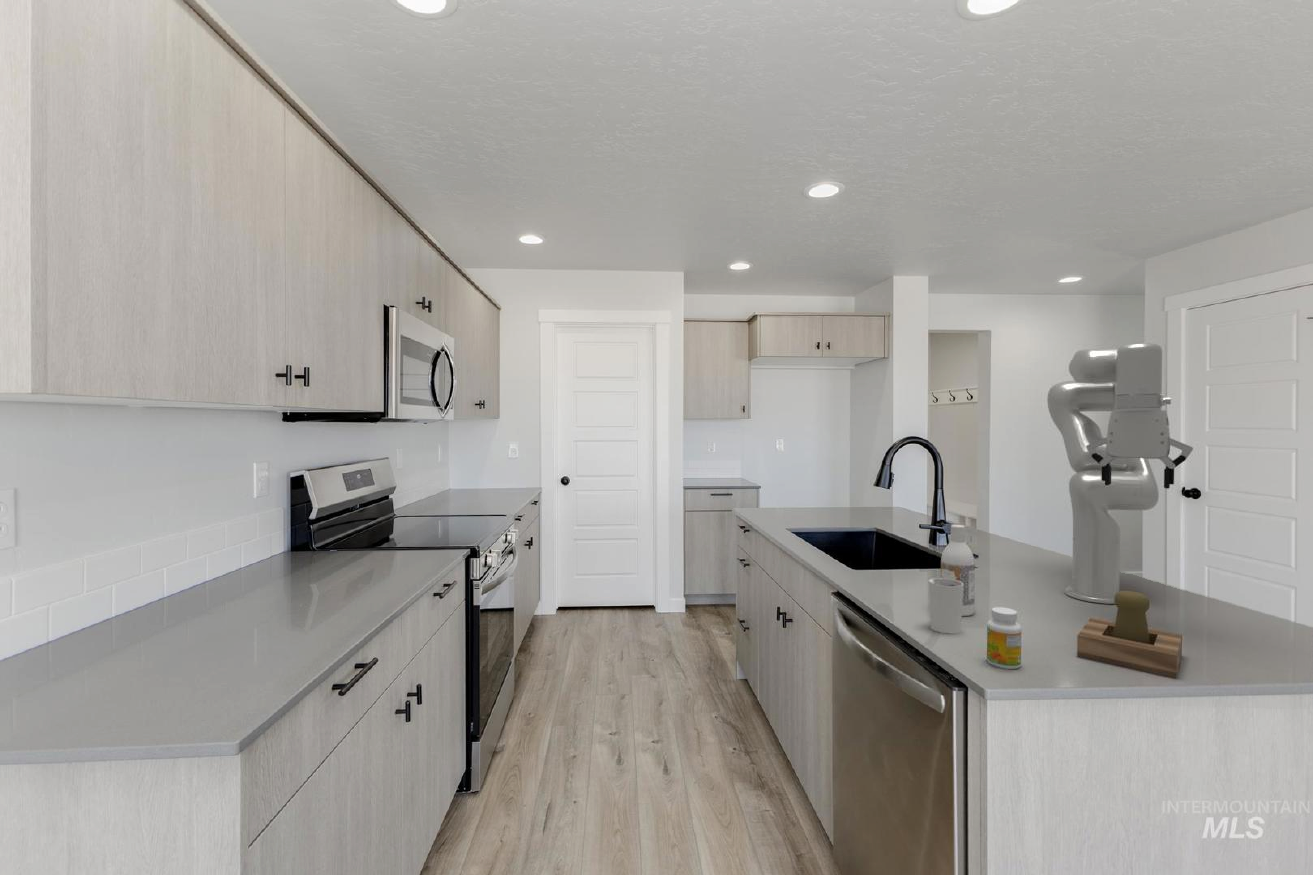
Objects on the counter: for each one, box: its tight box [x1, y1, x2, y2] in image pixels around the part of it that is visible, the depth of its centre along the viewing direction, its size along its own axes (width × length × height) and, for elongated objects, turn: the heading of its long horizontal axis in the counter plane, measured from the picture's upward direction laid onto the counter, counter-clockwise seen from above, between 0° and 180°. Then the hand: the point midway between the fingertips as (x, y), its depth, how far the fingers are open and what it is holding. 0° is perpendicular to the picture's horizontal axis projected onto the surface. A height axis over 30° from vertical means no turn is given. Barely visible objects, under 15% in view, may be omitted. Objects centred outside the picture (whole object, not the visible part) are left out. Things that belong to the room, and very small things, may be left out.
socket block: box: [1076, 617, 1183, 679], centre depth 112 cm, size 14×14×4 cm
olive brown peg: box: [1113, 590, 1151, 644], centre depth 112 cm, size 6×6×11 cm
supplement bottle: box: [986, 606, 1022, 670], centre depth 109 cm, size 5×5×10 cm
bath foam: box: [940, 524, 976, 617], centre depth 138 cm, size 7×7×20 cm
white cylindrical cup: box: [928, 577, 964, 635], centre depth 127 cm, size 7×7×10 cm
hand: (1136, 486), depth 125 cm, fingers open, 9 cm apart
